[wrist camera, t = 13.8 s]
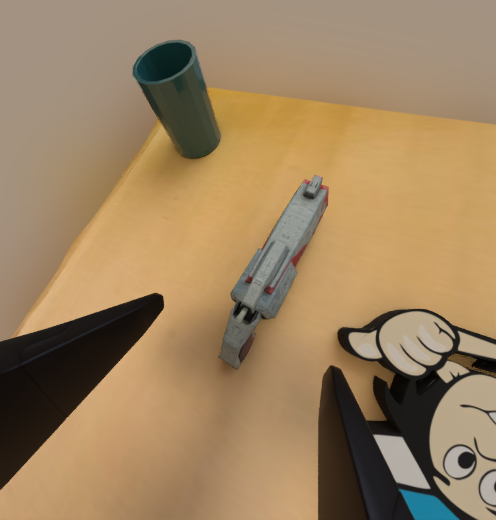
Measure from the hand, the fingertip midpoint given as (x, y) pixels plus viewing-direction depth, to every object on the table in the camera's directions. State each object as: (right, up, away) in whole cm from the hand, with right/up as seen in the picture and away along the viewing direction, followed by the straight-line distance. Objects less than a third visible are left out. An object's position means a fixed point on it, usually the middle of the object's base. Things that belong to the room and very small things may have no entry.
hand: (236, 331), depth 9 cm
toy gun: (+4, +1, +13) cm, 14 cm away
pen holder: (-8, +24, +21) cm, 33 cm away
